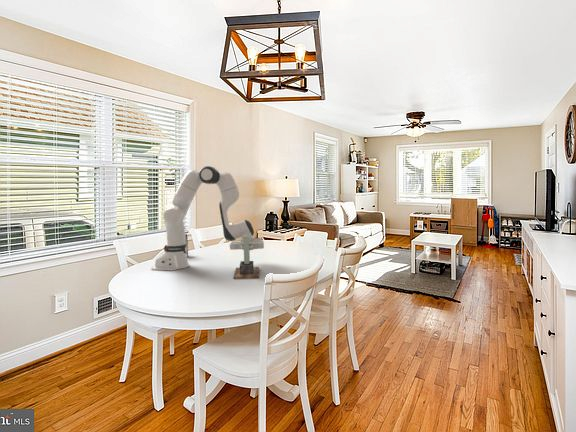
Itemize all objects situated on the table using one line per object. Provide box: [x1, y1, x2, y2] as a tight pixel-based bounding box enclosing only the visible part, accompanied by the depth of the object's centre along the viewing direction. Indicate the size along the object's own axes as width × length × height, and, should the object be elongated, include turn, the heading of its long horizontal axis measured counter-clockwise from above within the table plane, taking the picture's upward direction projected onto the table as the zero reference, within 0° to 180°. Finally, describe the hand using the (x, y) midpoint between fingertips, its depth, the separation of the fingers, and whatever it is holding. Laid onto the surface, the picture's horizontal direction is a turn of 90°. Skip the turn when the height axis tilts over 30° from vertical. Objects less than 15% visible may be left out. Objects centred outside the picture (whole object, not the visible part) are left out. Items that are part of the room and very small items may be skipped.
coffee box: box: [185, 233, 189, 257], centre depth 241 cm, size 9×6×16 cm
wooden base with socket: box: [233, 260, 260, 280], centre depth 194 cm, size 14×20×6 cm
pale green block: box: [243, 235, 251, 264], centre depth 193 cm, size 3×6×16 cm, turn 5°
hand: (246, 247), depth 192 cm, fingers closed on pale green block, 3 cm apart
